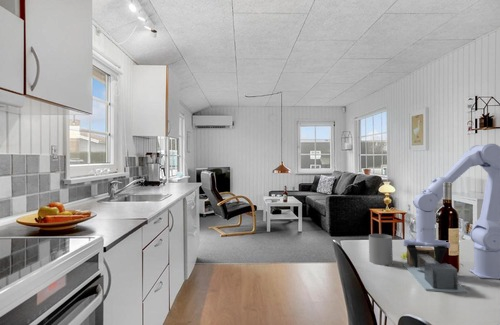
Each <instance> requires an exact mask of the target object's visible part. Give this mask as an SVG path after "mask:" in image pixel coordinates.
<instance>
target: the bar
mask: <svg viewBox="0 0 500 325" xmlns="http://www.w3.org/2000/svg"><path fill="white" fill-rule="evenodd" d="M424 262H428V263H433V264H440V263H438V262H437V261H436V260H435V259H433V258H432V257H431V256H430V255H428V254H427V253H426V252H417V266H418V267H419V268H420V269H421V270H422V271H423V272H424Z"/></svg>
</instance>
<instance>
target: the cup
mask: <svg viewBox="0 0 500 325" xmlns="http://www.w3.org/2000/svg"><path fill="white" fill-rule="evenodd" d="M393 254H394V253H393V236H392V235H389V234H385V233H371V234H368V260H369V263H371V264H373V265H378V266H390V265H392V264H393V263H394V262H393V261H394V260H393Z"/></svg>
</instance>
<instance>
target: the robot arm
mask: <svg viewBox="0 0 500 325" xmlns="http://www.w3.org/2000/svg"><path fill="white" fill-rule="evenodd" d="M476 166H480V167H482V169H483V170H484V171H485V172H486V173H487V179H486V184H485V188H484V194H483V199H482V205H481V210H480V215H479V218H478V219H477V220H476V221H475V222H474V225H473V228H471V229H470V233H469V237H470V239H471V241H472V242H473V266H474V268H469V272H471V273H473V275H475V276H477V277H478V278H479V279H498V280H499V279H500V145H498V144H496V143H488V144H475V145H473V146H471V147H469V149H468V150H466V151H464V153H463V155H462V156H461V157H460V158H459V159H458V160H457V161H456V163H455V164H454V165H453V166H452V167H451V168H450V169H449V170H448V171H447V172H446V173H445V174H444V175H443V176H438V177H436V178H432V179H431V183H430V184H429V185H428V186H427V187H426V188H425V189H422V190H421V193H418V194H416V195H415V197H414V200H412V205H413V206H414V207H415V227H416V228H415V229H416V233H415V234H416V235H415V236H416V237H415V238H412V239H411V238H410V239H402V246H403V247H406V250H407V249H408V251H409V253H410V255H411V258H412V261H413V266H414V267H415V268H417V252H418V250H417V249H416V247H431V248H433V249H434V252H435V260H436V261H437V262H438V263H440V264H442V261H443V258H444V256H445V255H446V253H447V252H448V250H447V248H448V249H450V247H451V245H450V244H451V242H450V241H449V242H450V243H449V242H446V241H447V240H440V239H439V240H438V239H436V223H435V222H436V219H435V209H437V208H438V206H439V205H438V203H439V202H440V201H441V200H443V198H444V197H443V183H444V182H451V183H452V184H453V183H454V182H455V181H456V180H457V179H458V178H459V177H461V176H462V175H463V174H465V173H466V172H467V171H468V170H469V169H470V168H472V167H476Z"/></svg>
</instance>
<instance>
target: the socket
mask: <svg viewBox="0 0 500 325" xmlns="http://www.w3.org/2000/svg"><path fill="white" fill-rule="evenodd" d="M415 247H416V249H417V250H418V252H426V253H427V254H428V255H430V256H431V257H432V258H433V259H435V251H434V248H433V247H426V246H415ZM406 263H407V264H408V265H409V266H413V261H412V258H411V255H410V253H409V251H408V249H407V248H406Z"/></svg>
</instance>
